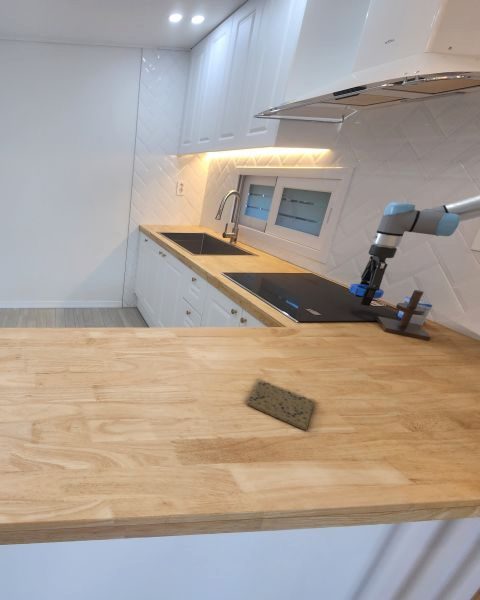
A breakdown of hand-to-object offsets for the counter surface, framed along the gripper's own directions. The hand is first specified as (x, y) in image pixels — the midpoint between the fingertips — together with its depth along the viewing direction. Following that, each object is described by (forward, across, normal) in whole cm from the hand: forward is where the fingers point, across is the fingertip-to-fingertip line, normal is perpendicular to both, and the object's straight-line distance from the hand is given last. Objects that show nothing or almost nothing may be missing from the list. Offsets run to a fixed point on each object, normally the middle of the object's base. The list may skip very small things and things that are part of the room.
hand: (362, 300), depth 133 cm
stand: (+5, +11, +11) cm, 16 cm away
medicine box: (+5, -2, +17) cm, 18 cm away
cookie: (+5, +85, -28) cm, 90 cm away
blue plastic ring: (-3, 0, 0) cm, 3 cm away
